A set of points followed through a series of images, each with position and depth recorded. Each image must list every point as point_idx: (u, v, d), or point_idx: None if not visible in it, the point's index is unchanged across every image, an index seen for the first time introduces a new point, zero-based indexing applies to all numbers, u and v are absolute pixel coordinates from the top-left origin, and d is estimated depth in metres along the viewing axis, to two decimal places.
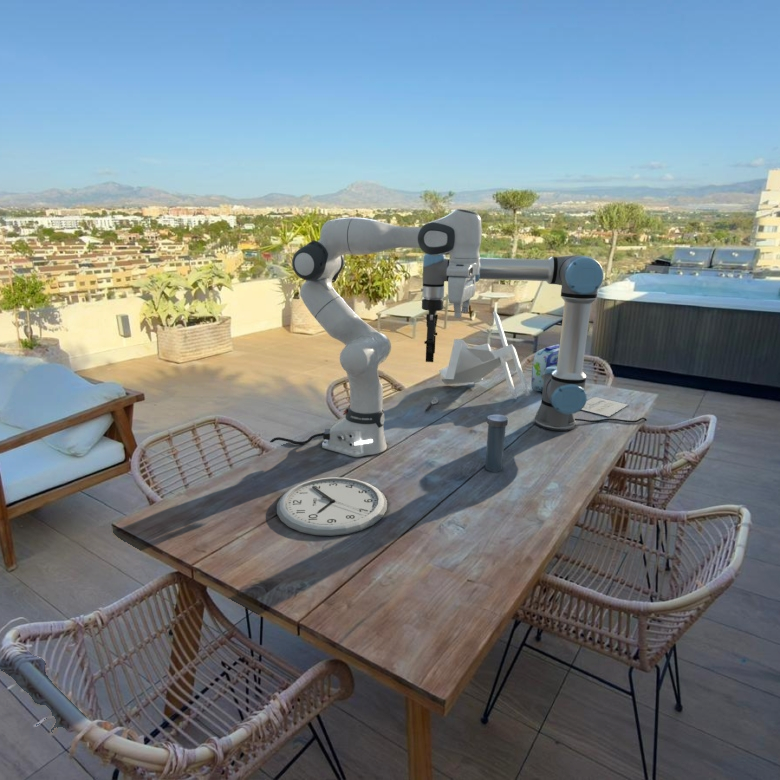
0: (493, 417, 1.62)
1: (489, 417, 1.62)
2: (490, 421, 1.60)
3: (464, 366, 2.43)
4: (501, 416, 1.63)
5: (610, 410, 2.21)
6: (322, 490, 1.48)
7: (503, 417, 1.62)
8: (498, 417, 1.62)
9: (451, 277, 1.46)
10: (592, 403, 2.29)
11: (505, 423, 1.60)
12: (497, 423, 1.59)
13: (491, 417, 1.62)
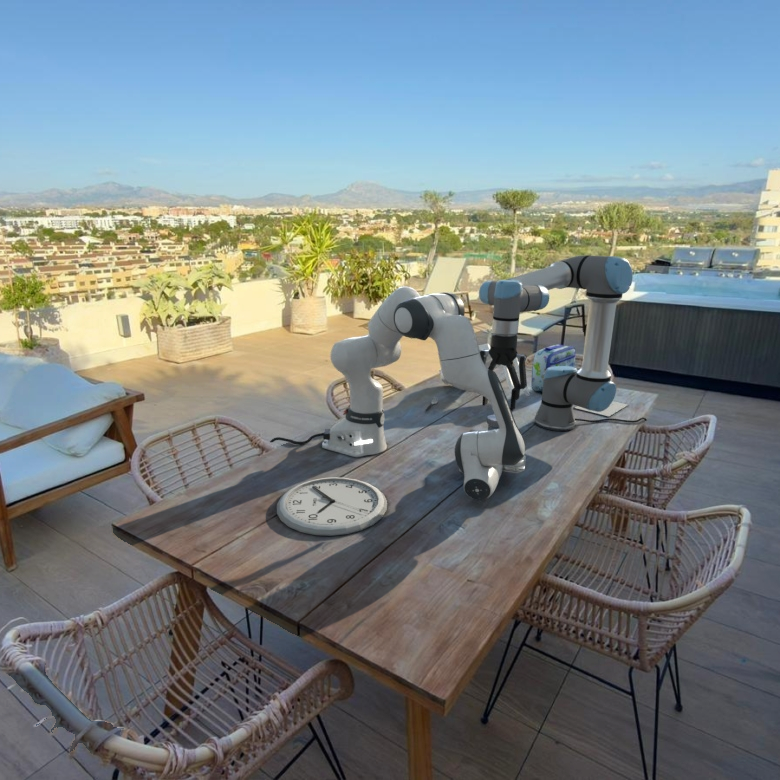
0: (494, 417, 1.62)
1: (489, 417, 1.62)
2: (490, 421, 1.60)
3: None
4: None
5: (610, 410, 2.21)
6: (322, 490, 1.48)
7: None
8: None
9: None
10: None
11: None
12: (497, 423, 1.59)
13: (491, 417, 1.62)
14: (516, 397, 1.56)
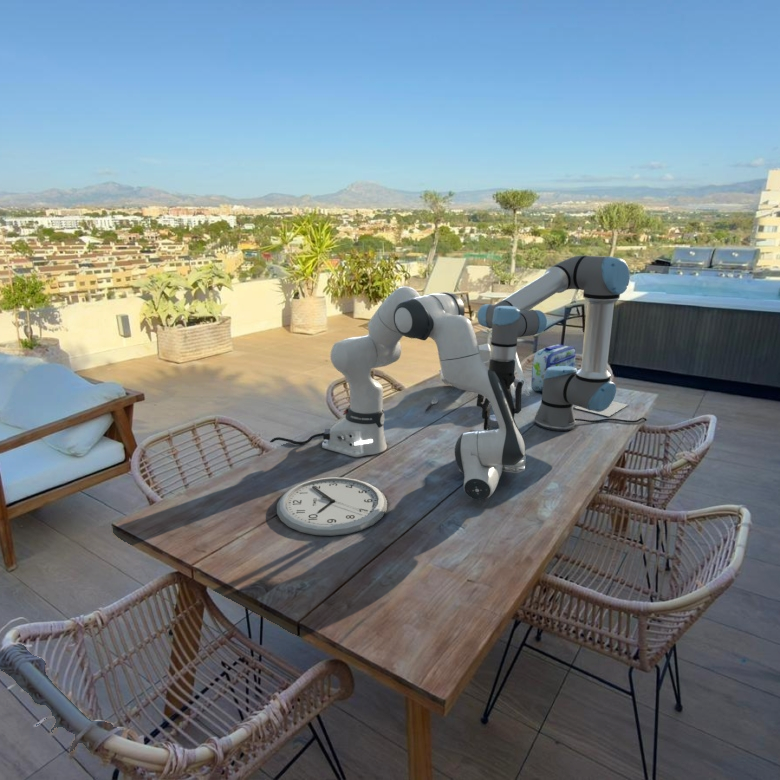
0: (494, 417, 1.62)
1: (489, 417, 1.62)
2: (490, 421, 1.60)
3: None
4: None
5: (610, 410, 2.21)
6: (322, 490, 1.48)
7: None
8: None
9: None
10: None
11: None
12: (497, 423, 1.59)
13: (491, 417, 1.62)
14: None
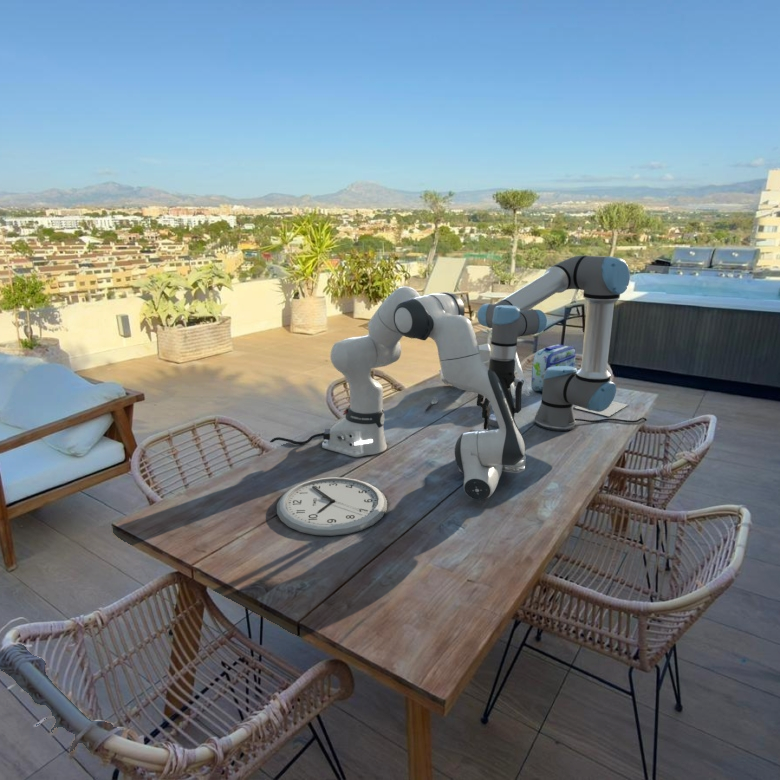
0: None
1: None
2: None
3: None
4: (491, 416, 1.62)
5: (610, 410, 2.21)
6: (322, 490, 1.48)
7: (492, 415, 1.63)
8: (495, 417, 1.61)
9: None
10: None
11: None
12: None
13: None
14: None
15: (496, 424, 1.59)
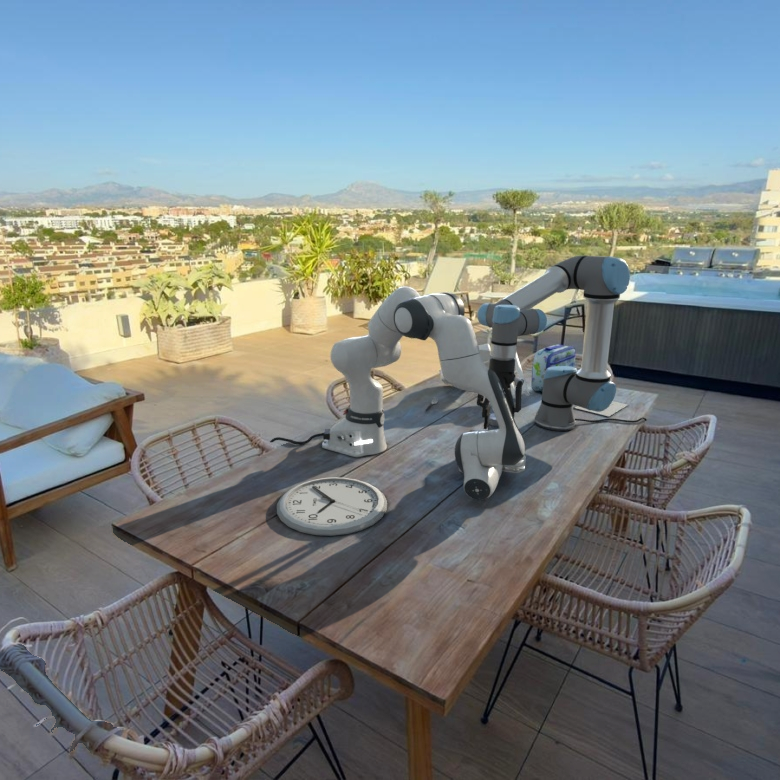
0: None
1: None
2: None
3: None
4: None
5: (610, 410, 2.21)
6: (322, 490, 1.48)
7: None
8: None
9: None
10: None
11: (488, 420, 1.61)
12: None
13: None
14: None
15: None
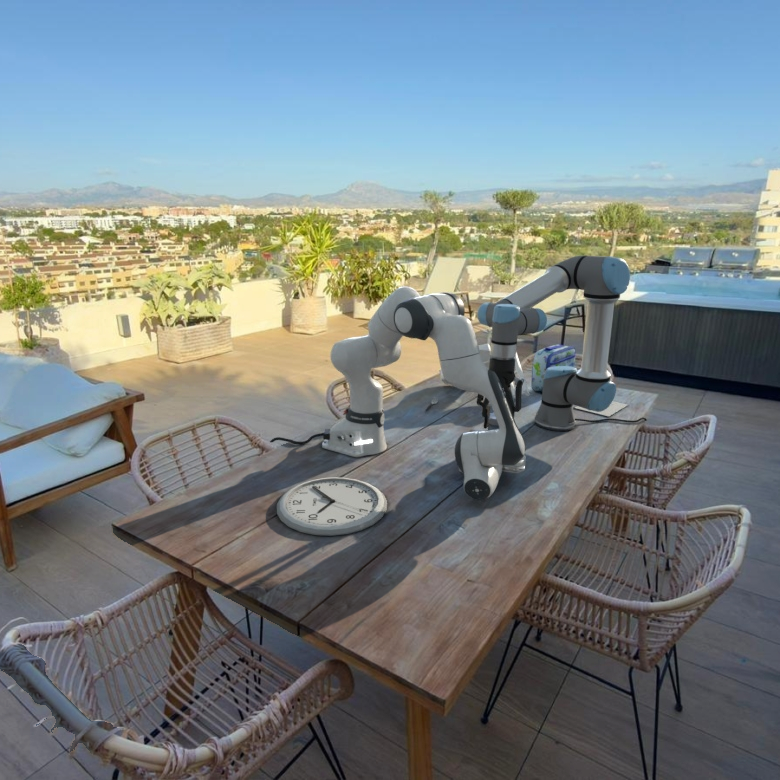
0: (494, 415, 1.61)
1: (489, 415, 1.61)
2: (490, 419, 1.60)
3: None
4: None
5: (610, 410, 2.21)
6: (322, 490, 1.48)
7: None
8: None
9: None
10: None
11: None
12: None
13: (491, 415, 1.62)
14: None
15: None
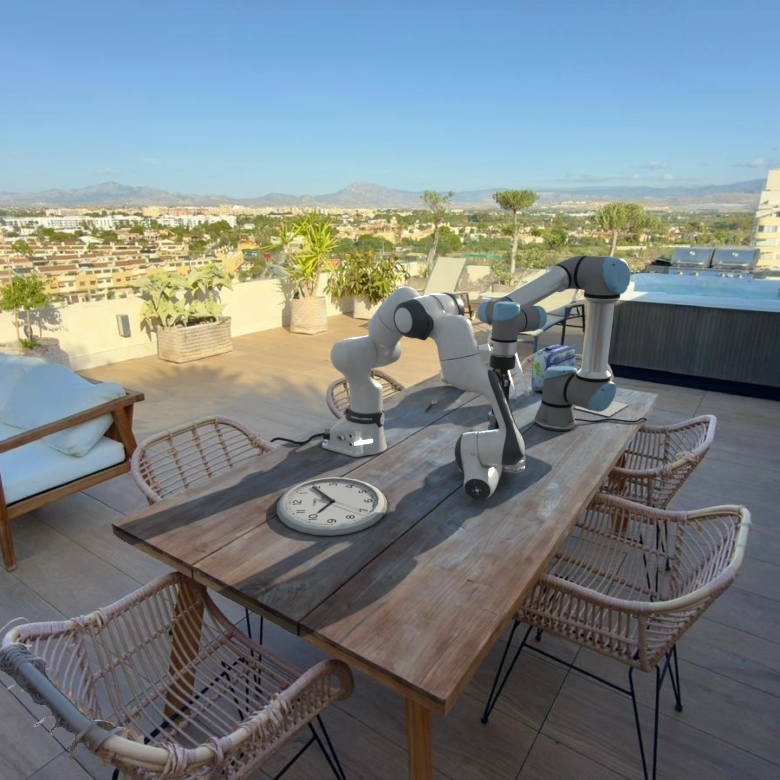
0: None
1: None
2: None
3: None
4: (492, 413, 1.62)
5: (610, 410, 2.21)
6: (322, 490, 1.48)
7: (493, 412, 1.63)
8: None
9: None
10: None
11: None
12: None
13: None
14: None
15: None
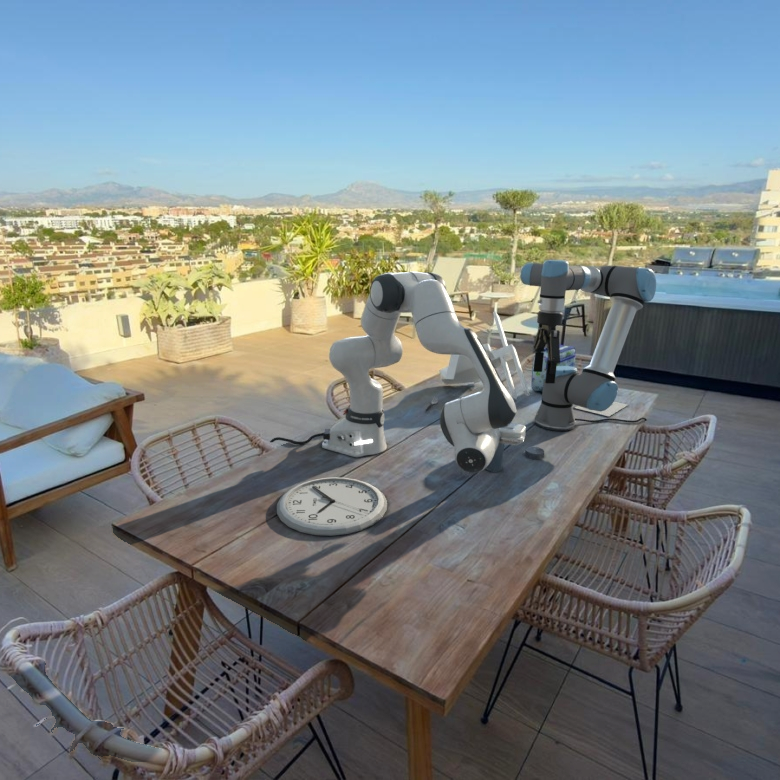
0: (537, 451, 1.75)
1: (539, 452, 1.74)
2: (543, 453, 1.75)
3: (464, 366, 2.43)
4: (529, 449, 1.77)
5: (610, 410, 2.21)
6: (322, 490, 1.48)
7: (529, 448, 1.77)
8: (532, 450, 1.76)
9: None
10: None
11: None
12: None
13: (538, 452, 1.74)
14: None
15: (534, 457, 1.74)
